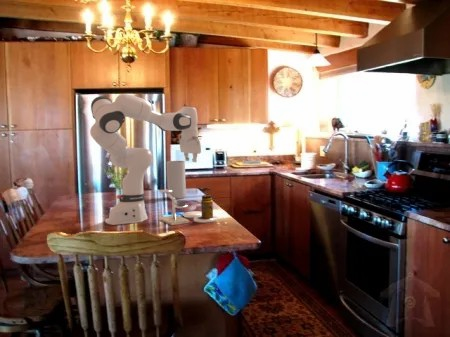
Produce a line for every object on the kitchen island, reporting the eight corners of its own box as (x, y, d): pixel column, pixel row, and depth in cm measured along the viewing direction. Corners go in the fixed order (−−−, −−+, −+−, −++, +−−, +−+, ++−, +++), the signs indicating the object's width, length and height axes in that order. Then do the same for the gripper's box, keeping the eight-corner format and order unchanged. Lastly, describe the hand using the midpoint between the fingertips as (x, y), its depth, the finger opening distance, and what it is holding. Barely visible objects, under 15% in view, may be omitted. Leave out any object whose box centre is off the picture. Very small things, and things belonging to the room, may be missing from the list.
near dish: (200, 223, 236) (200, 221, 236) (189, 219, 248) (189, 217, 248) (222, 220, 243) (222, 218, 243) (211, 216, 254) (210, 214, 254)
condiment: (216, 218, 245) (215, 195, 243) (202, 220, 240) (201, 197, 239) (209, 215, 251) (208, 193, 249) (195, 218, 246) (194, 195, 245)
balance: (175, 227, 230) (174, 196, 229) (156, 218, 253) (155, 190, 252) (193, 224, 235) (192, 194, 234) (173, 215, 258) (172, 188, 256)
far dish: (188, 218, 249) (188, 217, 249) (178, 214, 260) (178, 213, 260) (209, 215, 255) (209, 214, 255) (199, 212, 267) (199, 210, 267)
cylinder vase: (165, 197, 323) (164, 161, 320) (182, 195, 328) (181, 160, 326) (171, 199, 312) (169, 162, 309) (188, 198, 317) (187, 161, 314)
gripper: (203, 136, 246) (204, 162, 247) (187, 135, 264) (188, 159, 265) (192, 136, 243) (193, 162, 244) (177, 136, 261) (178, 160, 262)
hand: (190, 161), depth 255 cm, fingers open, 8 cm apart
